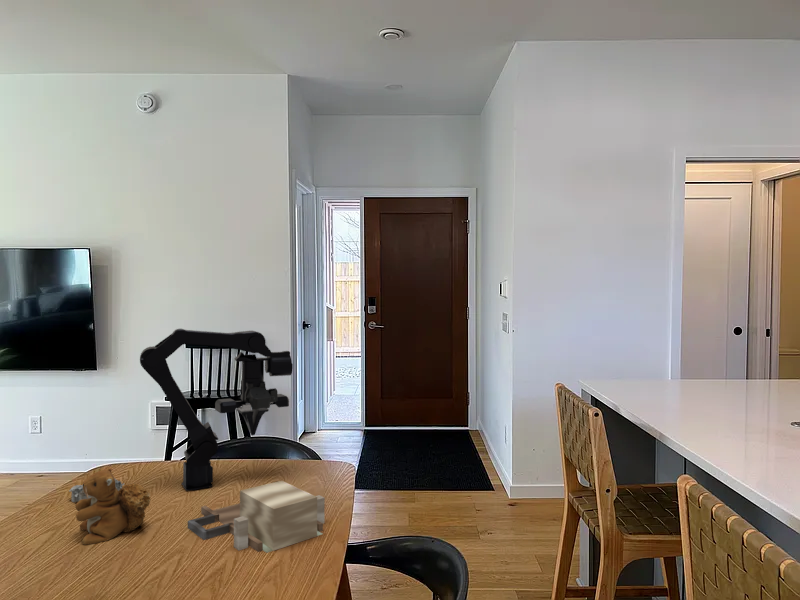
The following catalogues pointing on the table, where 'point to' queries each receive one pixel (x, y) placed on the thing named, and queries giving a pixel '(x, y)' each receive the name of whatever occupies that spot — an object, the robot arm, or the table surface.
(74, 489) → the egg carton
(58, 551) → the table surface
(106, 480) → the stuffed squirrel
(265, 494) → the maple block
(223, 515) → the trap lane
